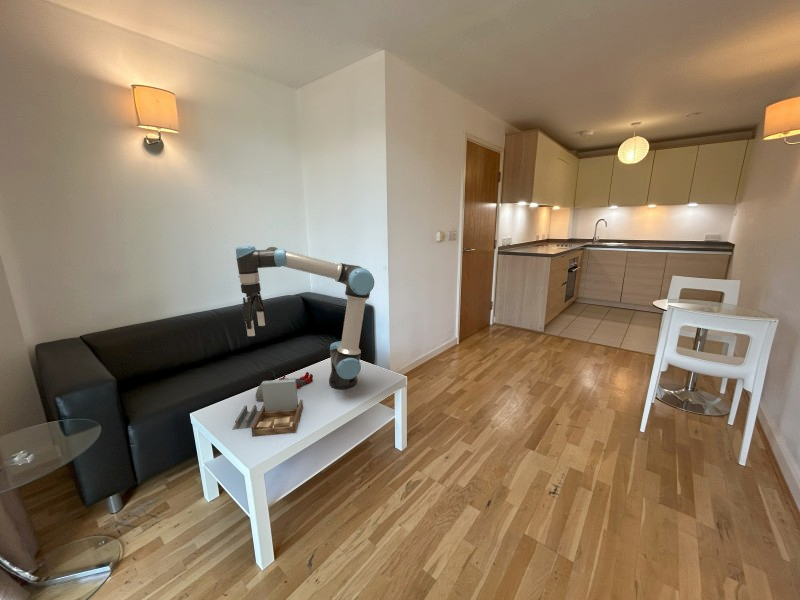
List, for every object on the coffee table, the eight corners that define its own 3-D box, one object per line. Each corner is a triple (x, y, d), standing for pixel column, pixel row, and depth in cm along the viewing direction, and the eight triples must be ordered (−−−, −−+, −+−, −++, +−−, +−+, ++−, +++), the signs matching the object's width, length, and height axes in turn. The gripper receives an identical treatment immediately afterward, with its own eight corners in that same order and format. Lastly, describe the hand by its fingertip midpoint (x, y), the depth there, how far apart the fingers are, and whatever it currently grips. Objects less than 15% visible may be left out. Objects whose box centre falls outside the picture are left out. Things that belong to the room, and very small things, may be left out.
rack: (303, 409, 152) (302, 399, 151) (295, 434, 134) (294, 424, 133) (265, 412, 150) (264, 402, 149) (252, 438, 132) (251, 427, 131)
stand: (242, 414, 149) (241, 405, 148) (261, 412, 150) (259, 403, 149) (232, 431, 136) (230, 422, 135) (252, 429, 137) (250, 420, 136)
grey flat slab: (298, 410, 149) (295, 378, 145) (297, 413, 147) (294, 381, 143) (267, 413, 148) (263, 381, 144) (265, 416, 145) (261, 383, 141)
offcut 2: (290, 421, 138) (289, 417, 137) (289, 426, 135) (289, 422, 134) (275, 423, 137) (274, 419, 136) (274, 428, 133) (273, 424, 133)
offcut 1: (272, 427, 137) (271, 421, 136) (269, 433, 134) (268, 426, 133) (260, 427, 137) (260, 421, 136) (257, 433, 134) (256, 426, 133)
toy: (318, 376, 174) (264, 388, 152) (317, 393, 175) (263, 407, 153) (302, 368, 185) (249, 378, 162) (301, 384, 186) (248, 396, 163)
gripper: (251, 278, 149) (257, 322, 154) (228, 289, 125) (236, 341, 130) (268, 277, 150) (273, 321, 155) (248, 288, 126) (256, 340, 131)
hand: (256, 330), depth 142 cm, fingers open, 13 cm apart
